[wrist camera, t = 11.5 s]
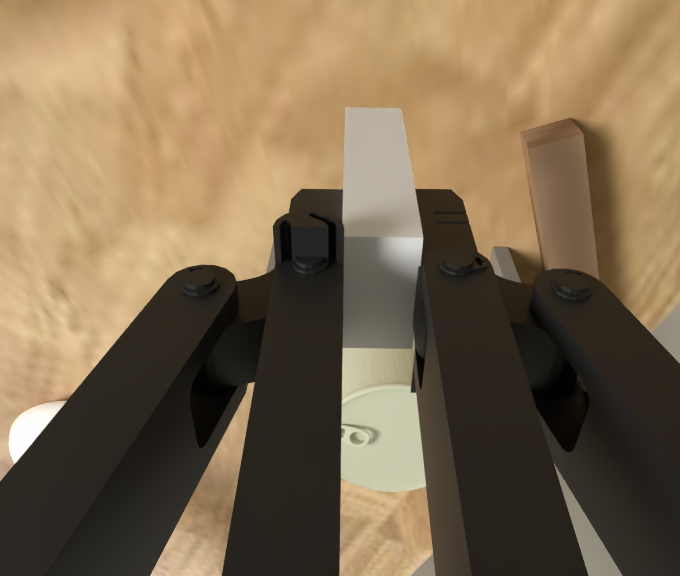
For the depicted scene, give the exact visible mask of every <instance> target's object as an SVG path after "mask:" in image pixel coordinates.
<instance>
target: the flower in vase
mask: <svg viewBox="0 0 680 576" xmlns="http://www.w3.org/2000/svg"><path fill="white" fill-rule="evenodd" d="M66 402H67V401H53V402H47V403H44V404H40V405H38V406H35V407H33V408H30V409H28V410H27V411H25V412H23V413H22V414H21V415H20V416H18V417H17V419H16V420H15V421H14V423H13V425H12V427H11V430H10V436H9V450H10V454H11V457H12V459H13V461H14V463H16V462H17V461H18V460H19V458H20V457H21V456H22V455H23V454H24V452H25V451H26V450H27V449H28V447H29V446H30V445H31V444H32V443H33V441H34V440H35V439H36V438H37V437H38V435H39V434H40V433H41V432H42V431H43V429H44V428H45V427H46V426H47V425H48V423H49V422H50V421H51V420H52V418H53V417H54V416H55V415H56V414H57V412H58V411H59V410H60V409H61V408H62V406H63V405H64V404H65V403H66Z"/></svg>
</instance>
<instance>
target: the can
mask: <svg viewBox="0 0 680 576" xmlns="http://www.w3.org/2000/svg"><path fill="white" fill-rule="evenodd" d="M414 354H415V340H414V337H413V347H412V349H384V348H343V359H342V426H341V477H342V478H343V479H345V480H347V481H348V482H351V483H353V484H355V485H357V486H360V487H363V488H367V489H371V490H377V491H385V492H402V491H410V490H416V489H420V488H424V487H426V480H425V471H424V461H423V452H422V443H421V434H420V424H419V415H418V406H417V396H416V393H411V383H412V373H413V363H414Z"/></svg>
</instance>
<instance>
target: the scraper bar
mask: <svg viewBox="0 0 680 576" xmlns="http://www.w3.org/2000/svg"><path fill="white" fill-rule="evenodd" d="M520 134H521V140H522V146H523V152H524V158H525V164H526V170H527V176H528V182H529V188H530V195H531V201H532V207H533V213H534V219H535V225H536V231H537V237H538V243H539V249H540V255H541V261H542V267H543V271H547V270H551V269H562V268H567V269H573V270H578V271H582V272H584V273H586V274H589V275H591V276H594V277H595V278H596V279H598V280H599V272H598V263H597V253H596V244H595V235H594V226H593V217H592V208H591V199H590V190H589V181H588V171H587V162H586V153H585V144H584V135H583V133H582V131H581V130H580V129H579V128H578V127H577V125H576V124H575V123H574V122H573V120H572V119H571V118H568V119H565V120H561V121H558V122H554V123H551V124H547V125H543V126H540V127H536V128H533V129H529V130H526V131H522V132H520Z"/></svg>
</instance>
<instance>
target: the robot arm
mask: <svg viewBox="0 0 680 576" xmlns="http://www.w3.org/2000/svg"><path fill="white" fill-rule="evenodd" d="M273 236H274V251H275V268H274V269H273V270H271V271H270V272H268V273H266V274H264V275H262V276H259V277H256V278H252V279H248V280H242V281H237V282H236V279H235V276H234V274H233V273H231V272H230V271H229V270H227V269H226V268H222V267H219V266H216V265H197V266H192V267H187V268H185V269H183V270H180V271H178V272H176V273H175V274H173V275H172V276H171V277H170V278H169V279H167V281H166V282H165V283H164V284H163V285H162V287H161V288H160V289H159V290H158V291H157V293H156V294H155V295H154V296H153V298H152V299H151V300H150V301H149V302H148V304H147V305H146V306H145V307H144V308H143V310H142V311H141V312H140V313H139V314H138V316H137V317H136V318H135V319H134V321H133V322H132V323H131V324H130V325H129V327H128V328H127V329H126V330H125V331H124V333H123V334H122V335H121V336H120V337H119V339H118V340H117V341H116V342H115V343H114V345H113V346H112V347H111V348H110V350H109V351H108V352H107V353H106V354H105V356H104V357H103V358H102V359H101V360H100V362H99V363H98V364H97V365H96V366H95V368H94V369H93V370H92V371H91V373H90V374H89V375H88V376H87V377H86V379H85V380H84V381H83V382H82V383H81V385H80V386H79V387H78V388H77V389H76V391H75V392H74V393H73V394H72V395H71V397H70V398H69V399H68V400H67V402H66V403H65V404H64V405H63V406H62V408H61V409H60V410H59V411H58V412H57V414H56V415H55V416H54V417H53V418H52V420H51V421H50V422H49V423H48V425H47V426H46V427H45V428H44V429H43V431H42V432H41V433H40V434H39V435H38V437H37V438H36V439H35V440H34V441H33V443H32V444H31V445H30V446H29V447H28V449H27V450H26V451H25V452H24V454H23V455H22V456H21V457H20V458H19V460H18V461H17V462H16V463H15V464H14V466H13V467H12V468H11V469H10V470H9V472H8V473H7V474H6V475H5V477H4V478H3V479H2V480H1V481H0V576H150V575H151V573H152V571H153V569H154V567H155V565H156V563H157V561H158V559H159V557H160V555H161V554H162V552H163V550H164V548H165V546H166V544H167V542H168V540H169V538H170V536H171V535H172V533H173V531H174V529H175V527H176V525H177V523H178V521H179V519H180V517H181V515H182V514H183V512H184V510H185V508H186V506H187V504H188V502H189V500H190V498H191V496H192V494H193V493H194V491H195V489H196V487H197V485H198V483H199V481H200V479H201V477H202V475H203V473H204V472H205V470H206V468H207V466H208V464H209V462H210V460H211V458H212V456H213V454H214V452H215V451H216V449H217V447H218V445H219V443H220V441H221V439H222V437H223V435H224V433H225V431H226V430H227V428H228V426H229V424H230V422H231V420H232V418H233V416H234V414H235V412H236V411H237V409H238V407H239V405H240V403H241V401H242V399H243V397H244V395H245V393H246V389H247V385H248V383H252V382H255V385H254V390H253V396H252V402H251V408H250V414H249V420H248V426H247V431H246V437H245V443H244V449H243V455H242V461H241V466H240V472H239V478H238V484H237V490H236V496H235V502H234V507H233V513H232V519H231V525H230V531H229V537H228V542H227V548H226V554H225V560H224V566H223V572H222V576H339V558H340V492H341V426H342V359H343V348H384V349H412V347H413V337H414V340H415V354H414V363H413V373H412V383H411V393H416V396H417V406H418V415H419V424H420V434H421V443H422V452H423V461H424V471H425V480H426V489H427V499H428V508H429V517H430V527H431V536H432V545H433V555H434V564H435V573H436V576H588V573H587V570H586V567H585V563H584V560H583V557H582V554H581V550H580V547H579V544H578V541H577V537H576V534H575V531H574V528H573V524H572V521H571V518H570V515H569V512H568V508H567V505H566V502H565V499H564V495H563V492H562V489H561V486H560V483H559V479H558V476H557V473H556V470H555V466H554V464H555V465H556V467H557V468H558V470H559V472H560V473H561V475H562V477H563V478H564V480H565V482H566V483H567V485H568V486H569V488H570V490H571V491H572V493H573V495H574V496H575V498H576V500H577V501H578V503H579V505H580V506H581V508H582V510H583V511H584V513H585V514H586V516H587V518H588V519H589V521H590V523H591V524H592V526H593V528H594V529H595V531H596V533H597V534H598V536H599V537H600V539H601V541H602V542H603V543H604V546H605V547H606V549H607V551H608V552H609V554H610V555H611V557H612V559H613V560H614V562H615V564H616V565H617V567H618V569H619V570H620V572H621V574H622V575H623V576H680V364H679V363H678V362H677V361H676V359H675V358H674V357H673V356H672V355H671V354H670V353H669V352H668V351H667V350H666V349H665V348H664V347H663V346H662V345H661V344H660V343H659V342H658V341H657V339H656V338H655V337H654V336H653V335H652V334H651V333H650V332H649V331H648V330H647V329H646V328H645V327H644V326H643V325H642V324H641V323H640V322H639V320H638V319H637V318H636V317H635V316H634V315H633V314H632V313H631V312H630V311H629V310H628V309H627V308H626V307H625V306H624V305H623V304H622V303H621V302H620V301H619V299H618V298H617V297H616V296H615V295H614V294H613V293H612V292H611V291H610V290H609V289H608V288H607V287H606V286H605V285H604V284H603V283H602V282H600V281H599V280H598V279H596V278H595V277H594V276H591V275H589V274H586V273H584V272H582V271H578V270H573V269H567V268H562V269H551V270H547V271H543V272H542V273H541V274H539V275H538V276H537V277H536V280H535V284H534V285H529V284H524V283H520V282H515V281H512V280H508V279H505V278H502V277H500V276H498V275H496V274H495V273H494V270H493V266H492V265H491V263H490V262H489V260H488V259H487V258H486V257H484V256H483V255H481V254H480V253H478V251H477V248H476V244H475V241H474V237H473V234H472V230H471V227H470V224H469V220H468V217H467V214H466V210H465V206H464V203H463V200H462V199H461V198H460V197H459V196H457V195H456V194H455V193H454V192H453V191H452V190H448V189H415V186H414V180H413V174H412V168H411V162H410V156H409V150H408V144H407V139H406V133H405V127H404V121H403V115H402V109H401V108H347V107H345V138H344V176H343V190H338V189H301V190H300V191H299V192H298V193H297V194H296V195H295V196H294V197H293V198H292V199H291V203H290V209H289V213H287V214H285V215H283V216H282V217H280V218H278V219H277V220H276V222H275V224H274V225H273ZM553 462H554V463H553Z"/></svg>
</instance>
